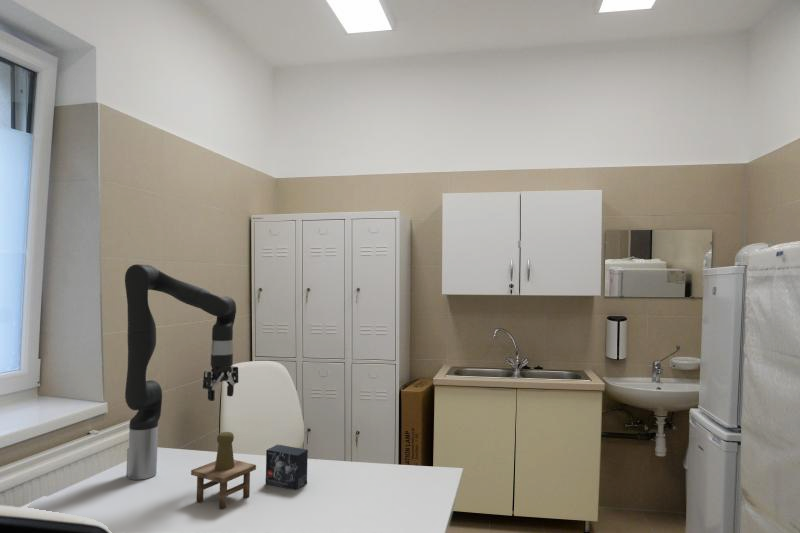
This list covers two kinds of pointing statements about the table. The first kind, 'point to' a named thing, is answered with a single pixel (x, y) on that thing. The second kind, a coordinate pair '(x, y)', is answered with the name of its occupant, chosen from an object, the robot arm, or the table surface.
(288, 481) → the small box
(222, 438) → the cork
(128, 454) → the robot arm
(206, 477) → the stool
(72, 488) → the table surface
